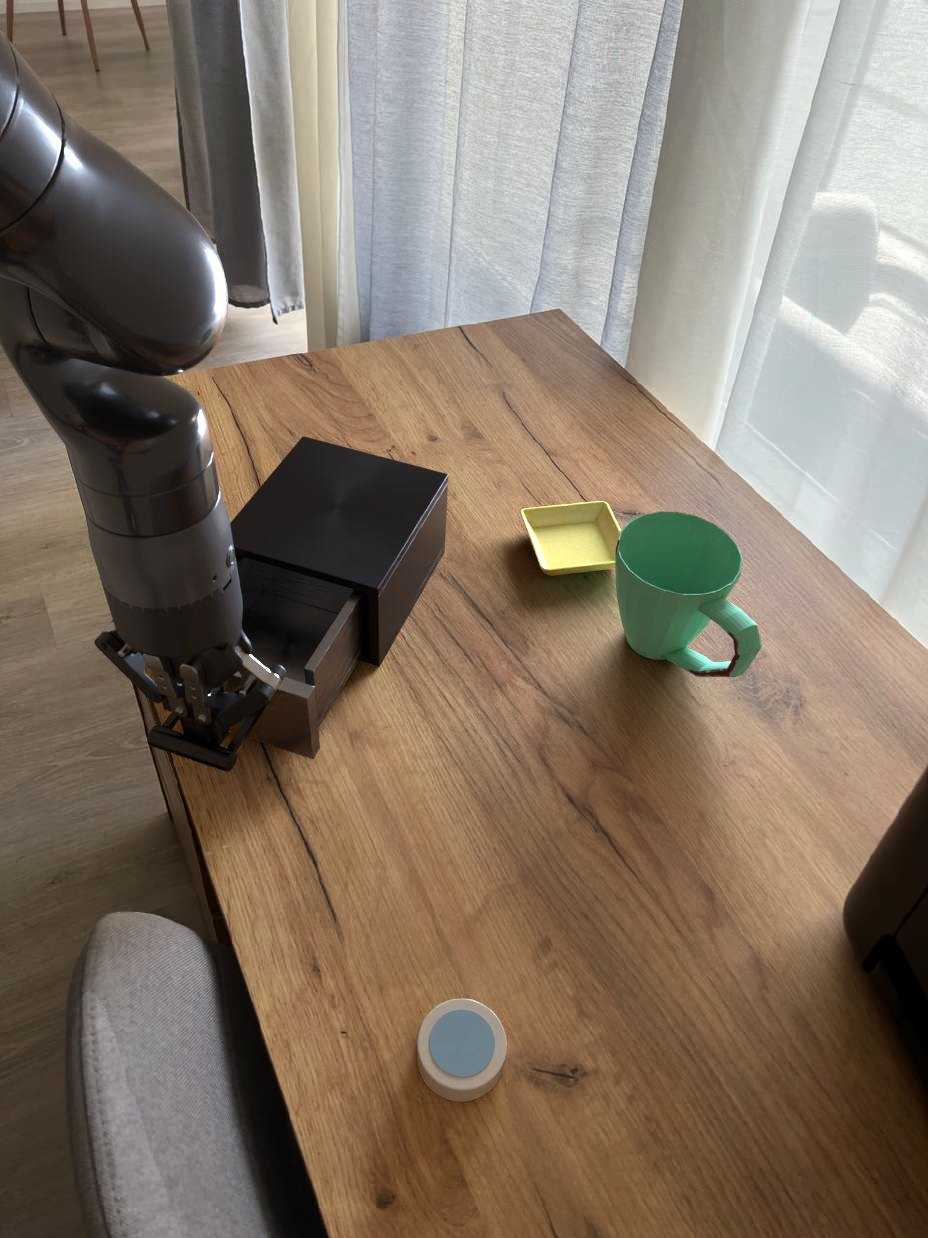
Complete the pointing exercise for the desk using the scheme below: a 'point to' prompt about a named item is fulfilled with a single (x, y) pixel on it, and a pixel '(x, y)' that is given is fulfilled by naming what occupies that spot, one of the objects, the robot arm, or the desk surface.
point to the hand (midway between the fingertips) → (209, 741)
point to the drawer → (285, 662)
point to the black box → (350, 528)
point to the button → (461, 1049)
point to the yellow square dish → (572, 537)
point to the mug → (681, 591)
